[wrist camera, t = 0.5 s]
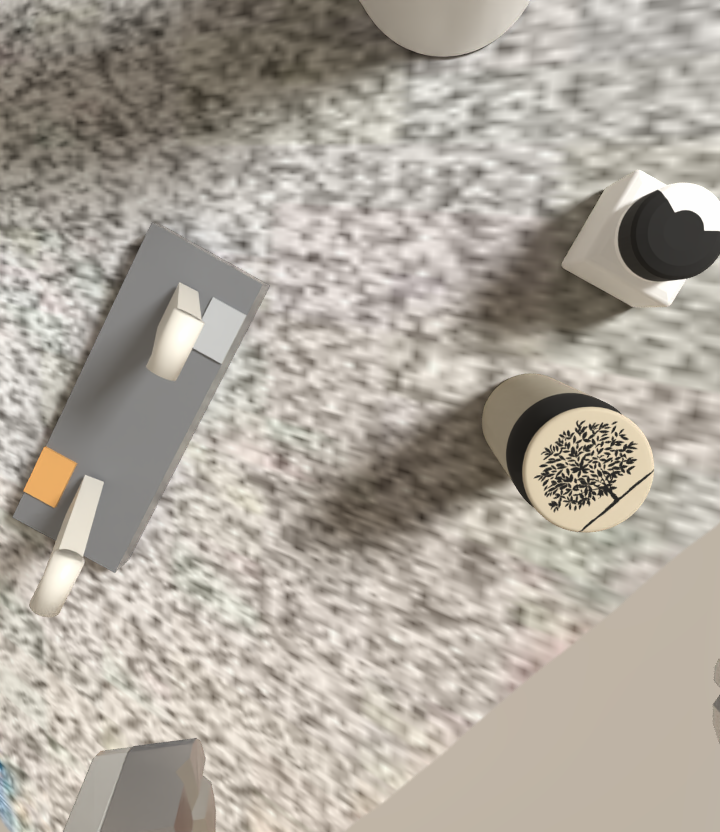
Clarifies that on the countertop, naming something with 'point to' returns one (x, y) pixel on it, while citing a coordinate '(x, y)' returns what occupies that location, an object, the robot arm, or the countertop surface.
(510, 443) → the travel mug
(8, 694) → the countertop surface
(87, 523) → the outer lever
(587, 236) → the medicine bottle
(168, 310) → the inner lever
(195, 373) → the switch unit
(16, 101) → the countertop surface
